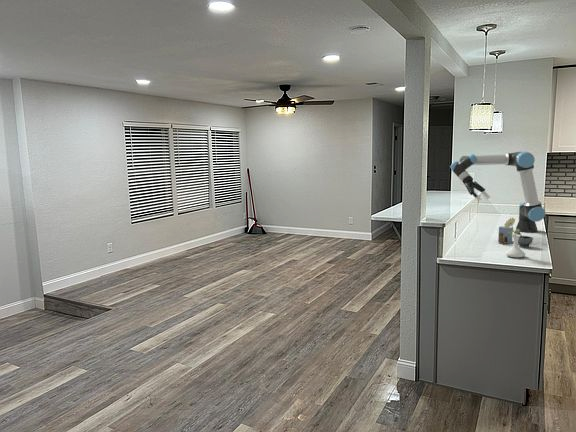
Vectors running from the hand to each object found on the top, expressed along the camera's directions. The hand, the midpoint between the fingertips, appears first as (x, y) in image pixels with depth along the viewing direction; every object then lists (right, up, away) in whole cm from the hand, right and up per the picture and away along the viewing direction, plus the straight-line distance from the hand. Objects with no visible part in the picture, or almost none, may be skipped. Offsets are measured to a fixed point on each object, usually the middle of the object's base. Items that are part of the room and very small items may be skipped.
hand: (484, 199), depth 326 cm
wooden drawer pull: (+9, -32, -13) cm, 35 cm away
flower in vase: (-5, -38, -52) cm, 65 cm away
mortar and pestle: (+14, -34, -28) cm, 46 cm away
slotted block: (+9, -32, -13) cm, 35 cm away
